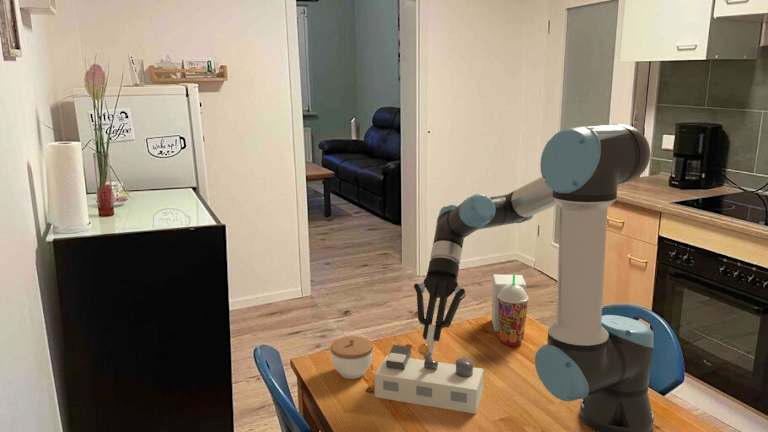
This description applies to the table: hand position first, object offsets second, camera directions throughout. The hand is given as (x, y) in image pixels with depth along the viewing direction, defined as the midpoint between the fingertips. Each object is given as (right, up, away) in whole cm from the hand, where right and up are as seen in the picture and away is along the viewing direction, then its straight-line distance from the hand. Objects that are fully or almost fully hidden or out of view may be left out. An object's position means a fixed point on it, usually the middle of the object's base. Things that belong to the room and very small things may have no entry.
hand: (428, 353), depth 137 cm
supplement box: (+27, -1, +41) cm, 49 cm away
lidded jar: (-18, -9, +14) cm, 25 cm away
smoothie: (+26, -4, +31) cm, 40 cm away
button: (+8, -5, +1) cm, 10 cm away
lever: (+1, -4, +4) cm, 5 cm away
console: (0, -11, +4) cm, 11 cm away
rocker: (-7, -2, +6) cm, 9 cm away
